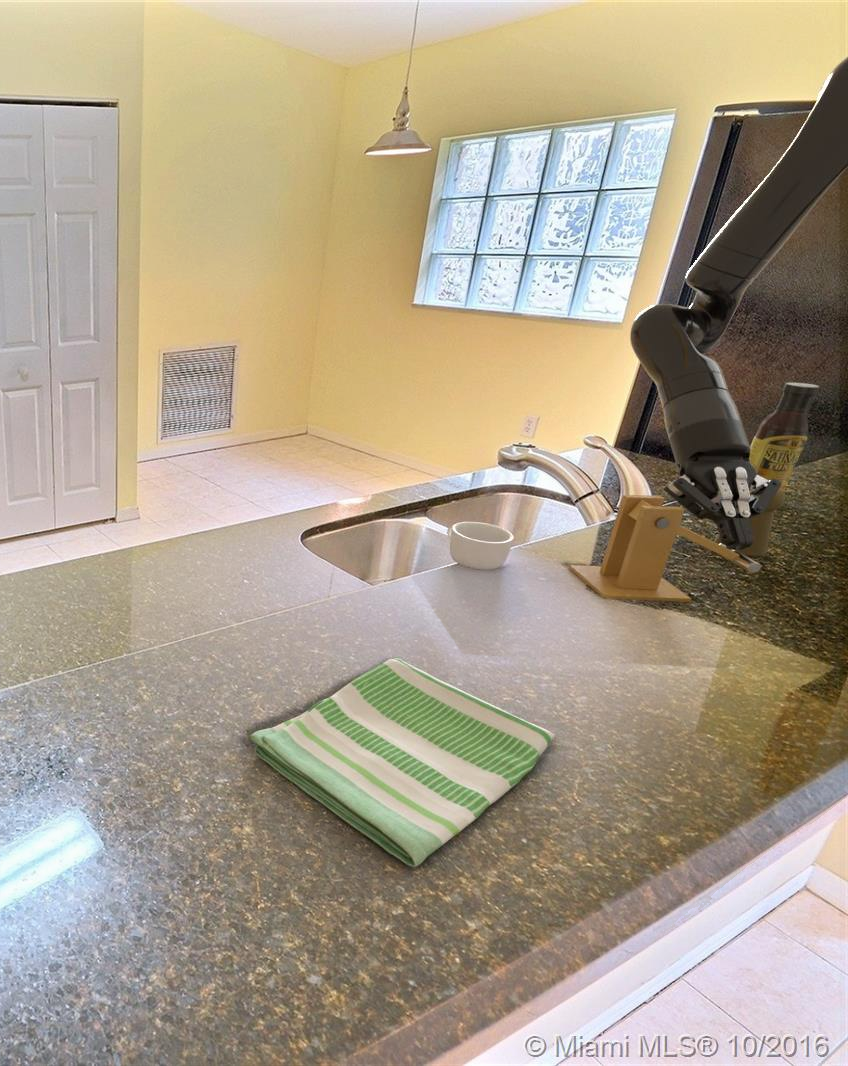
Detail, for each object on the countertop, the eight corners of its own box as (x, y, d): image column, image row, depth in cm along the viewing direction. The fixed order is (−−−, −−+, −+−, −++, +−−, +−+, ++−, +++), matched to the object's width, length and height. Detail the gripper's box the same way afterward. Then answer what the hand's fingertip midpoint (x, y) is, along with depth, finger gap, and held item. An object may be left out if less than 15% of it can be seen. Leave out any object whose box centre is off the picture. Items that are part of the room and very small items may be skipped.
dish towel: (242, 749, 69) (244, 727, 68) (386, 669, 80) (390, 649, 79) (413, 875, 55) (419, 849, 54) (559, 757, 66) (566, 734, 65)
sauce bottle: (747, 503, 121) (791, 388, 113) (722, 491, 127) (762, 380, 119) (791, 504, 120) (839, 388, 112) (764, 491, 126) (807, 380, 118)
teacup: (518, 573, 101) (527, 539, 99) (472, 580, 99) (480, 546, 97) (465, 546, 110) (472, 514, 108) (423, 552, 108) (429, 520, 106)
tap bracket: (645, 576, 98) (674, 490, 93) (688, 608, 90) (722, 515, 85) (567, 573, 100) (591, 489, 95) (601, 604, 92) (629, 513, 87)
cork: (711, 544, 107) (736, 475, 103) (765, 555, 103) (794, 484, 99) (706, 556, 103) (732, 486, 99) (763, 568, 99) (792, 495, 95)
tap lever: (718, 557, 94) (732, 543, 93) (751, 578, 89) (767, 563, 88) (619, 509, 94) (632, 494, 93) (646, 526, 89) (661, 511, 88)
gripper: (670, 416, 94) (705, 536, 88) (781, 416, 93) (824, 538, 86) (633, 443, 101) (663, 556, 95) (736, 443, 100) (773, 558, 93)
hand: (740, 547), depth 91 cm, fingers closed
